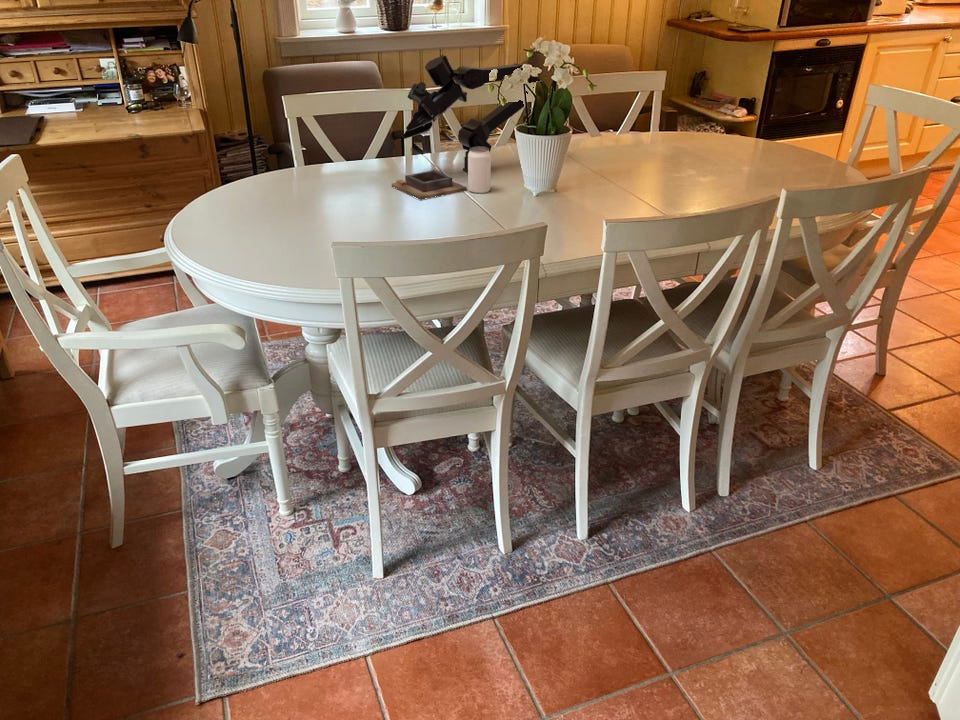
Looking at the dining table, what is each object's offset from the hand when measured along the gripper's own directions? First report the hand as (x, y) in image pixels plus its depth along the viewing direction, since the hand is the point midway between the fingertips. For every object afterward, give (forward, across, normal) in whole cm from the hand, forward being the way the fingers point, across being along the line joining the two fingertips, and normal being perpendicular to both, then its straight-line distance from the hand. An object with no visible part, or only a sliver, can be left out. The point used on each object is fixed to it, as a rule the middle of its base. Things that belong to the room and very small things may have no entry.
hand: (405, 133), depth 218 cm
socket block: (+5, 0, +16) cm, 17 cm away
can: (-4, +4, +26) cm, 27 cm away
